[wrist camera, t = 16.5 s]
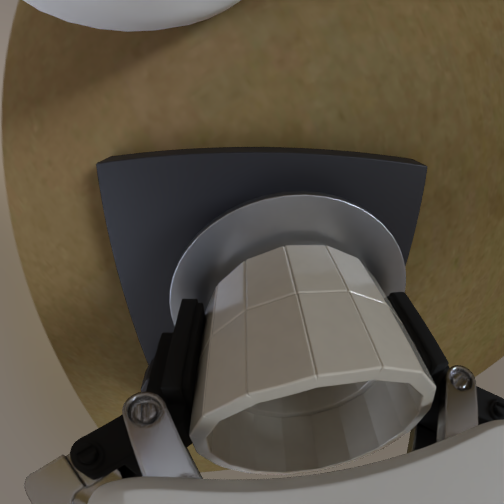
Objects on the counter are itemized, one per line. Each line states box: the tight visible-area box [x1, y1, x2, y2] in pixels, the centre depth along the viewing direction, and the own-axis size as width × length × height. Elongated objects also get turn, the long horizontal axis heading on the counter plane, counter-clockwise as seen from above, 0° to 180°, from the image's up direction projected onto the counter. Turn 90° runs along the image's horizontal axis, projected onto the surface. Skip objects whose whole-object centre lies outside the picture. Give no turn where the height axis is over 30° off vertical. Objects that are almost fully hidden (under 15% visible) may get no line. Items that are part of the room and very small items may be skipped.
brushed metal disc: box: [169, 191, 406, 326], centre depth 12 cm, size 10×10×1 cm
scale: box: [96, 147, 427, 392], centre depth 14 cm, size 16×14×3 cm
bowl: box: [189, 245, 436, 475], centre depth 9 cm, size 7×7×6 cm
